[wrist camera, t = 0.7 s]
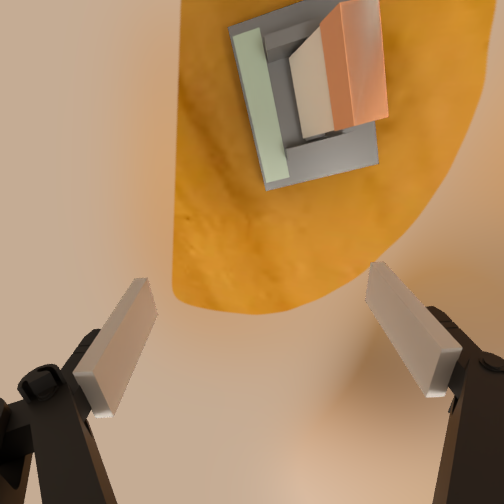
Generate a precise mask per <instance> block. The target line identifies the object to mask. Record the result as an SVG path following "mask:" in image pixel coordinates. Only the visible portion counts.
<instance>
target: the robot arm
mask: <svg viewBox="0 0 504 504" xmlns="http://www.w3.org/2000/svg"><path fill="white" fill-rule="evenodd" d="M365 301H366V303H367V304H368V306H369V308H370V309H371V311H372V312H373V314H374V316H375V317H376V319H377V320H378V322H379V323H380V325H381V327H382V328H383V330H384V332H385V333H386V334H387V336H388V338H389V339H390V341H391V343H392V344H393V346H394V347H395V349H396V351H397V352H398V354H399V355H400V357H401V359H402V360H403V362H404V363H405V365H406V366H407V368H408V370H409V371H410V373H411V374H412V376H413V378H414V379H415V381H416V382H417V384H418V386H419V387H420V389H421V390H422V392H423V393H424V395H425V397H441V396H445V394H446V391H447V388H448V387H449V388H450V389H451V391H452V392H453V393H454V398H453V401H452V403H451V406H450V408H449V411H448V412H449V413H450V416H449V422H448V426H447V431H446V437H445V442H444V447H443V452H442V457H441V462H440V467H439V472H438V478H437V483H436V488H435V493H434V499H433V503H432V504H504V359H502V358H501V357H499V356H497V355H494V354H492V353H488V352H484V351H482V350H481V349H480V348H479V347H478V346H477V345H476V344H474V342H473V341H472V340H471V339H470V338H469V337H468V336H467V335H466V334H465V333H464V332H463V331H462V330H461V329H459V328H458V326H457V325H456V324H455V323H454V322H452V320H451V319H450V318H449V317H448V316H447V315H446V314H445V313H444V312H442V311H441V310H439V309H437V308H436V307H434V306H429V307H425V306H424V305H423V304H422V303H421V302H420V301H419V300H418V298H417V297H416V296H415V295H414V294H413V293H412V292H411V291H410V290H409V289H408V288H407V286H406V285H405V284H404V283H403V282H402V281H401V280H400V279H399V278H398V277H397V276H396V274H395V273H394V272H393V271H392V270H391V269H390V268H389V267H388V266H387V265H386V263H385V262H371V263H370V271H369V278H368V284H367V291H366V298H365ZM157 315H158V313H157V309H156V306H155V302H154V299H153V295H152V292H151V288H150V284H149V281H148V278H136V279H134V281H133V282H132V284H131V285H130V287H129V288H128V290H127V291H126V293H125V294H124V296H123V297H122V299H121V300H120V302H119V303H118V305H117V306H116V308H115V309H114V311H113V312H112V314H111V315H110V317H109V318H108V320H107V321H106V323H105V324H104V326H103V327H102V329H94V330H92V331H91V332H90V333H89V334H88V335H86V336H85V337H84V338H83V340H82V341H81V342H80V344H79V345H78V347H77V348H76V349H75V351H74V352H73V354H72V355H71V357H70V358H69V359H68V360H67V362H66V363H65V365H64V366H63V368H62V369H61V370H60V369H59V367H58V366H57V365H55V364H47V365H43V366H40V367H37V368H36V369H34V370H32V371H31V372H29V373H28V374H27V375H25V377H23V378H22V379H21V381H20V382H19V384H18V388H17V390H18V391H19V393H20V394H21V396H22V397H23V400H20V401H17V402H14V403H11V404H8V405H7V404H6V402H5V401H4V400H3V399H2V398H0V504H24V499H25V493H26V488H27V482H28V477H29V471H30V465H31V460H32V454H33V452H35V458H36V465H37V472H38V478H39V485H40V491H41V498H42V504H117V501H116V499H115V496H114V493H113V490H112V487H111V484H110V482H109V479H108V476H107V473H106V470H105V467H104V465H103V462H102V459H101V456H100V453H99V451H98V448H97V445H96V442H95V439H94V436H93V433H92V431H91V428H90V425H89V422H88V421H87V419H86V418H87V416H88V415H89V413H90V411H91V410H92V412H93V414H94V416H95V417H96V418H102V417H114V415H115V412H116V410H117V408H118V406H119V403H120V401H121V399H122V396H123V394H124V392H125V390H126V387H127V385H128V383H129V380H130V378H131V376H132V373H133V371H134V369H135V366H136V364H137V362H138V359H139V357H140V355H141V352H142V350H143V348H144V346H145V343H146V341H147V339H148V336H149V334H150V332H151V329H152V327H153V325H154V322H155V320H156V318H157Z"/></svg>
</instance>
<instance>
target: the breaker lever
mask: <svg viewBox="0 0 504 504" xmlns="http://www.w3.org/2000/svg"><path fill="white" fill-rule="evenodd" d="M289 62H290V68H291V74H292V79H293V85H294V90H295V96H296V102H297V107H298V113H299V118H300V124H301V130H302V135H303V139H304V138H305V139H306V141H307V140H311V139H314V138H318V137H322V136H325V133H326V132H330V131H333V130H335V131H338V130H341V129H345V128H349V127H353V126H356V125H360V124H364V123H368V122H371V121H375V120H379V119H382V118H386V117H389V115H388V102H387V90H386V77H385V65H384V53H383V40H382V28H381V15H380V3H379V0H350V1H345V2H339V4H338V5H337V6H336V7H335V8H334V9H333V10H332V11H331V12H330V13H329V14H328V15H327V16H326V17H325V18H324V19H323V20H322V21H321V23H320V26H319V27H318V28H317V29H316V30H315V31H314V32H313V33H312V35H311V36H310V37H309V38H308V39H307V40H306V41H305V42H304V43H303V44H302V45H301V46H300V47H299V48H298V49H297V50H296V51H295V52H294V53H292V54H291V56H290V57H289Z"/></svg>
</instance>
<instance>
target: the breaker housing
mask: <svg viewBox="0 0 504 504" xmlns="http://www.w3.org/2000/svg"><path fill="white" fill-rule="evenodd" d="M345 1H350V0H304V1H301V2H298V3H295V4H292V5H289V6H287V7H284V8H281V9H278V10H275V11H273V12H270V13H267V14H264V15H261V16H258V17H256V18H253V19H250V20H247V21H244V22H241V23H239V24H236V25H233V26H230V27H228V30H229V35H230V39H231V43H232V48H233V52H234V56H235V60H236V65H237V69H238V73H239V78H240V82H241V86H242V90H243V95H244V99H245V103H246V108H247V112H248V116H249V120H250V125H251V129H252V133H253V138H254V142H255V146H256V150H257V155H258V159H259V163H260V168H261V172H262V176H263V180H264V185H265V189H266V191H268V190H272V189H276V188H280V187H285V186H289V185H293V184H297V183H301V182H305V181H309V180H313V179H317V178H322V177H326V176H330V175H334V174H338V173H342V172H346V171H350V170H355V169H359V168H363V167H367V166H371V165H375V164H379V160H378V149H377V139H376V128H375V121H371V122H368V123H364V124H360V125H356V126H353V127H349V128H345V129H341V130H338V131H335V130H333V131H330V132H326V133H325V136H322V137H318V138H314V139H311V140H307V141H306V139H305V138H304V139H303V135H302V130H301V124H300V118H299V113H298V107H297V102H296V96H295V90H294V85H293V79H292V74H291V68H290V62H289V57H290V56H291V54H292V53H294V52H295V51H296V50H297V49H298V48H299V47H300V46H301V45H302V44H303V43H304V42H305V41H306V40H307V39H308V38H309V37H310V36H311V35H312V33H313V32H314V31H315V30H316V29H317V28H318V27H319V26H320V23H321V21H322V20H323V19H324V18H325V17H326V16H327V15H328V14H329V13H330V12H331V11H332V10H333V9H334V8H335V7H336V6H337V5H338V4H339V2H345Z"/></svg>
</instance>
